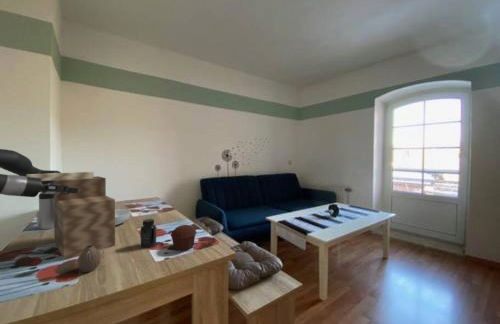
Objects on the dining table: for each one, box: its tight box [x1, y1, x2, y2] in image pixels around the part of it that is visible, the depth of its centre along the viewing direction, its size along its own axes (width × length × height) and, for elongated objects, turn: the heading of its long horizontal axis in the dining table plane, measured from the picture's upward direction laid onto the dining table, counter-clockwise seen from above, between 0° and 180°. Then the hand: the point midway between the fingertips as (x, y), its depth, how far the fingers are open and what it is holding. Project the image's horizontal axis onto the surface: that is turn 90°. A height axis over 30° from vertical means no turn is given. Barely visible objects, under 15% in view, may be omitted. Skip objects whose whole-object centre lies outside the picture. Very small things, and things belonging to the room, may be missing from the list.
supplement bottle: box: [139, 218, 157, 248], centre depth 97 cm, size 7×7×12 cm
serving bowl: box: [115, 208, 132, 226], centre depth 125 cm, size 21×21×7 cm
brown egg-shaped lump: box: [76, 245, 102, 273], centre depth 76 cm, size 7×7×9 cm
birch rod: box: [26, 171, 95, 181], centre depth 96 cm, size 23×3×3 cm, turn 140°
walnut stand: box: [53, 175, 116, 261], centre depth 97 cm, size 18×26×31 cm
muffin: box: [170, 224, 197, 252], centre depth 95 cm, size 12×11×10 cm
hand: (73, 191), depth 90 cm, fingers open, 7 cm apart
